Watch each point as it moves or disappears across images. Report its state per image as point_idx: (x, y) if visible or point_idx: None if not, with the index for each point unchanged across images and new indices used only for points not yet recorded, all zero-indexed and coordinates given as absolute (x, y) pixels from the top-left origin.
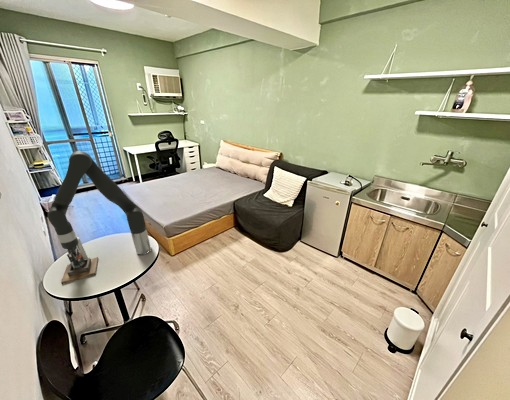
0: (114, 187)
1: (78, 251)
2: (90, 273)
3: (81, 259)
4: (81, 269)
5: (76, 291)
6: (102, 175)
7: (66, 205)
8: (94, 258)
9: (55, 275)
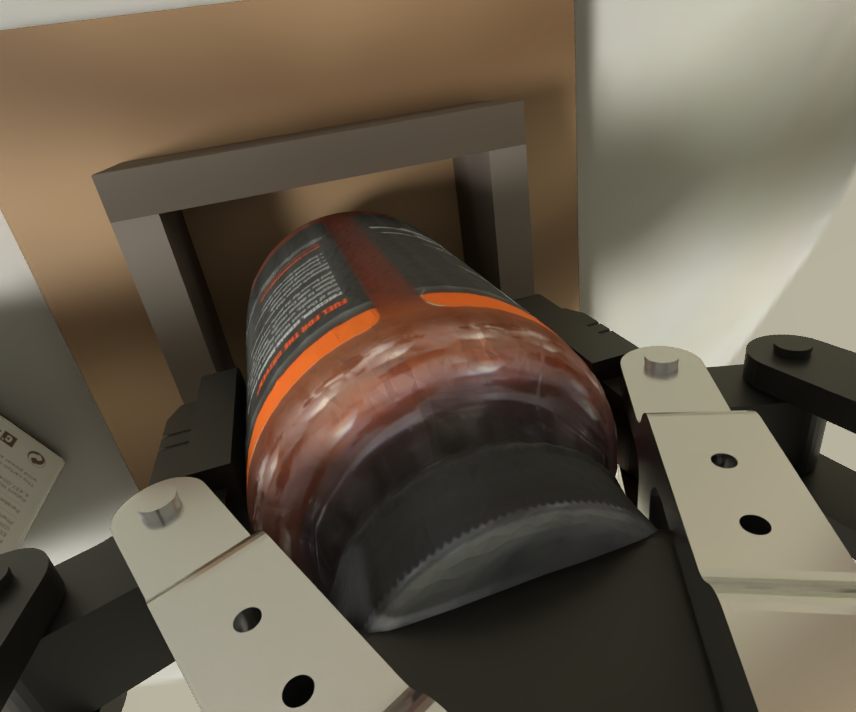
0: None
1: (207, 523)
2: (563, 55)
3: (464, 274)
4: (528, 227)
5: (785, 180)
6: None
7: None
8: None
9: None
